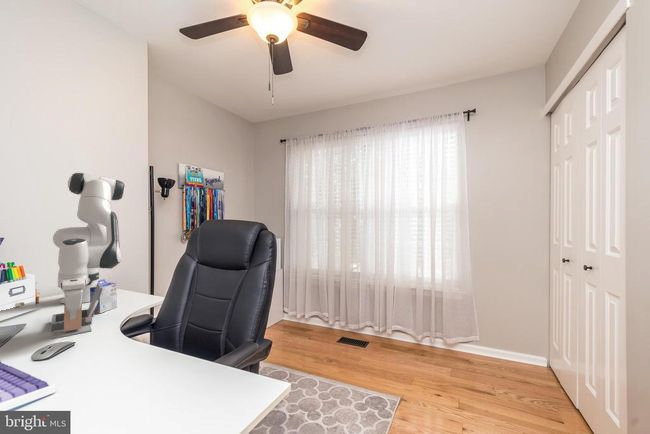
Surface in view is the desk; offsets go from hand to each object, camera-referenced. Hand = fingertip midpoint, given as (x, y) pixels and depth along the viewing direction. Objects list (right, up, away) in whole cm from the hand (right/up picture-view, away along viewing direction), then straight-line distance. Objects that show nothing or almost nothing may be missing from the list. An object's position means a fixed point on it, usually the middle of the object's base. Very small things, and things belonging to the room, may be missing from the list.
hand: (72, 316), depth 110 cm
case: (-6, -6, +9) cm, 13 cm away
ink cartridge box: (-8, -6, +25) cm, 27 cm away
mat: (0, -6, 0) cm, 6 cm away
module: (0, -5, 0) cm, 5 cm away
